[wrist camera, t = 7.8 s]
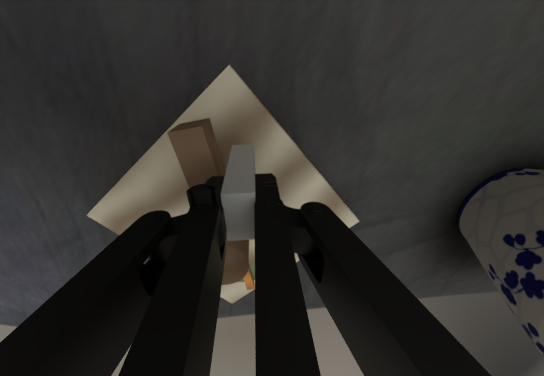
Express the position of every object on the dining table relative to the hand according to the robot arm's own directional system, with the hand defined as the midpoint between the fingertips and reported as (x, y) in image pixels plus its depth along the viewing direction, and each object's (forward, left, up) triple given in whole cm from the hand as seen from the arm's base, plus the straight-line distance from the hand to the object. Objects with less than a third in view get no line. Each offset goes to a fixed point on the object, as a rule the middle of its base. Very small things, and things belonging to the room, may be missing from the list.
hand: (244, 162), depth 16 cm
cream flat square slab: (+5, -8, -7) cm, 12 cm away
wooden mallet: (+5, -8, -6) cm, 11 cm away
